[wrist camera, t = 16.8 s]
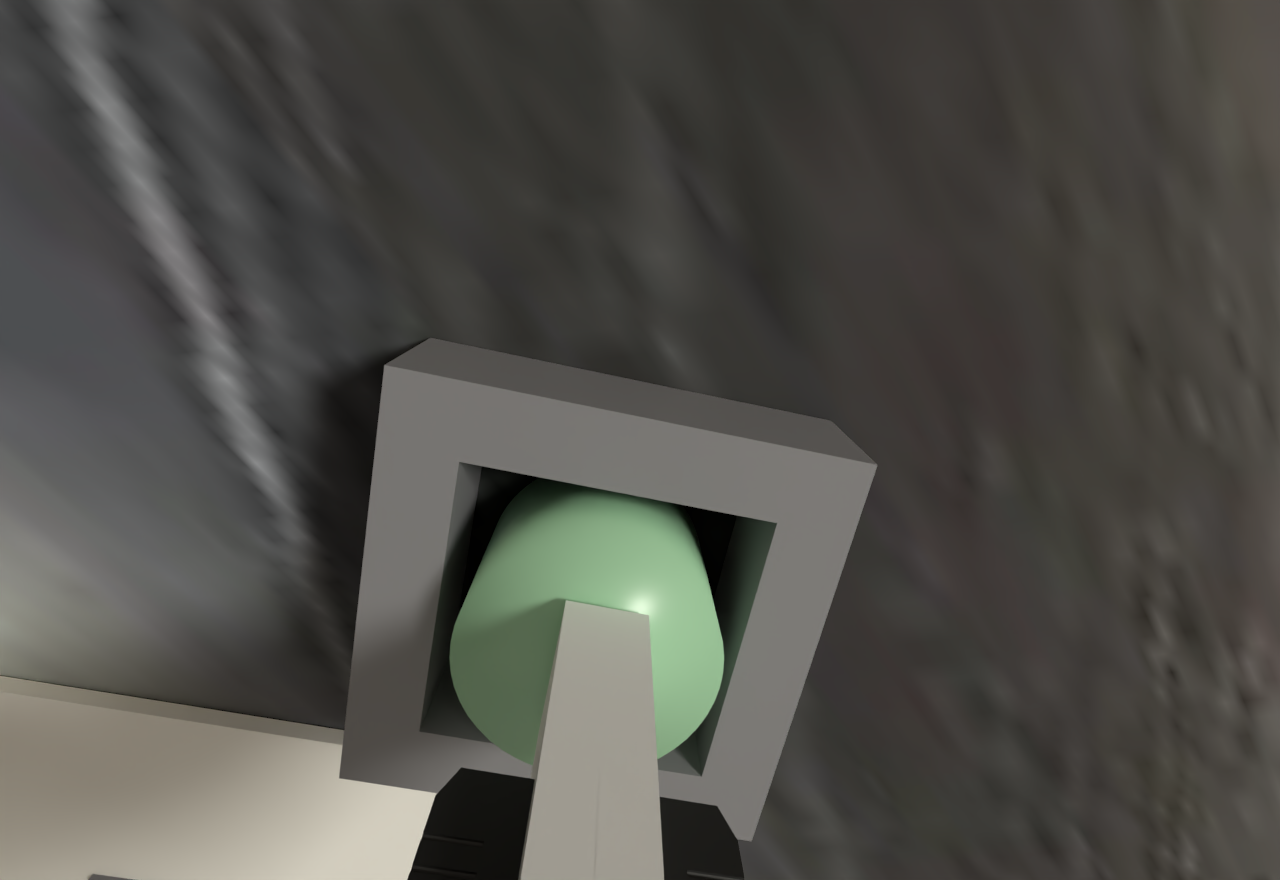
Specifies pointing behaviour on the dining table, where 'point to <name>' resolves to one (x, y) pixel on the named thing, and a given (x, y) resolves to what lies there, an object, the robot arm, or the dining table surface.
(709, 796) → the button housing
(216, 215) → the dining table surface
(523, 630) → the button
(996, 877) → the dining table surface
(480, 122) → the dining table surface
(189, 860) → the colouring board
